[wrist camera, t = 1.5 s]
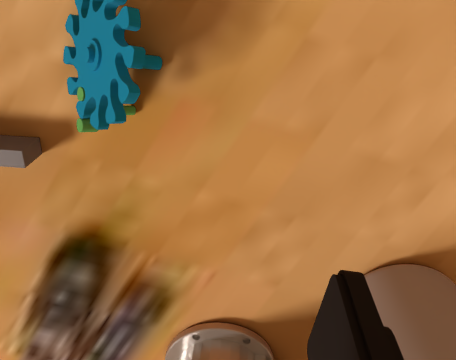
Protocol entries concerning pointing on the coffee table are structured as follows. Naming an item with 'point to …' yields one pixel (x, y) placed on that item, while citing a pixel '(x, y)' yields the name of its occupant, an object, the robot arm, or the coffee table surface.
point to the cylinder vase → (417, 309)
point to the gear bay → (18, 150)
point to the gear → (104, 62)
